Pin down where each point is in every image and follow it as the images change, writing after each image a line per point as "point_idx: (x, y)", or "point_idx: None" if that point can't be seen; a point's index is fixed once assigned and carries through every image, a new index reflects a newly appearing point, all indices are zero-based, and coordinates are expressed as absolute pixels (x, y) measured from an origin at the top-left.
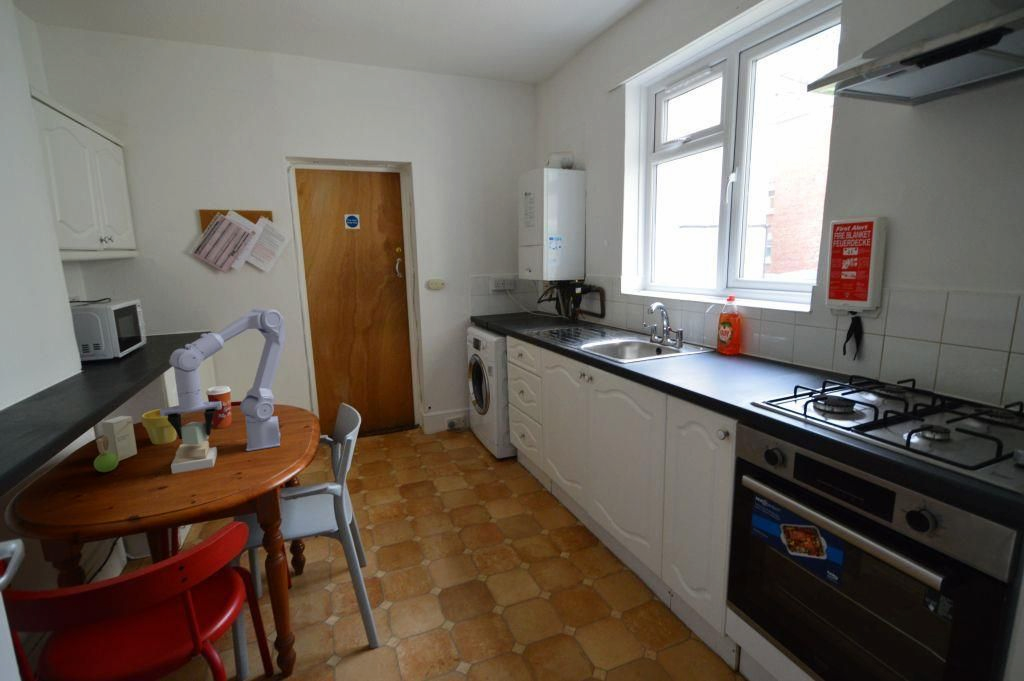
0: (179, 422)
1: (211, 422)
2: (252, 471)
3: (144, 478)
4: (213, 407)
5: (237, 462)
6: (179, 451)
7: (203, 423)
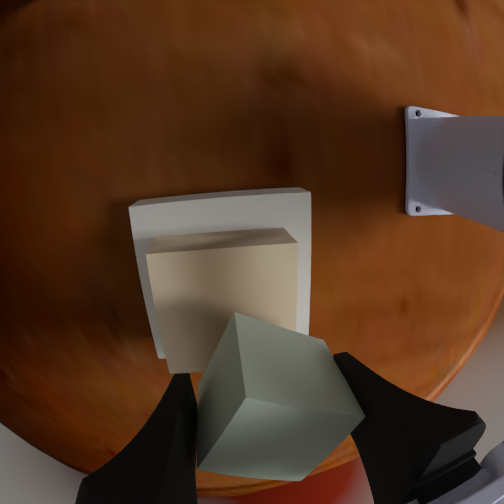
0: (190, 494)
1: (391, 391)
2: (395, 379)
3: (87, 340)
4: (463, 492)
5: (372, 309)
6: (179, 362)
7: (344, 438)
